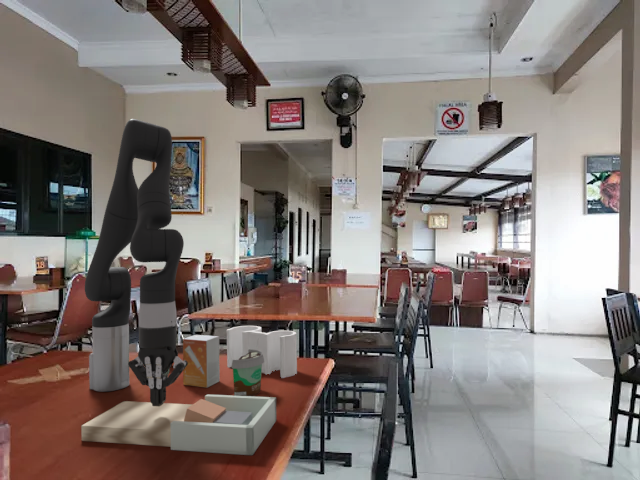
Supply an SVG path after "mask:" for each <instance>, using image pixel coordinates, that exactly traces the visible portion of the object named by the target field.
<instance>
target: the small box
mask: <svg viewBox="0 0 640 480" xmlns="http://www.w3.org/2000/svg"><path fill="white" fill-rule="evenodd" d="M182 360H183V361H184V360H186V361H187V362H188V365H187V366H186V367H185V369H184V370H183V371H182V374H183V375H182V376H183V380H182V382H183V383H182V384H183V385H184V386H192V387H200V388H204V389H205V388H209V387H212V386H213V385H215V384H217V383H219V382H220V377H221V376H220V366H221V365H220V336H218V335H217V336H216V335H208V334H207V335H206V334H204V335H202V334H201V335H200V334H195V335H190V336H188V337H184V338H183V339H182Z"/></svg>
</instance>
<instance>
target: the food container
mask: <svg viewBox="0 0 640 480" xmlns="http://www.w3.org/2000/svg"><path fill="white" fill-rule="evenodd" d="M262 363H264V357H263V354H262V352H261V351H258V350H250V349H248V354H246V355H244V356H241V357H240V358H239V360H233V363H232V367H231V369H232V375H233V377H232V378H233V380H232V381H233V393H234V395H233V396H255V397H257V395H259V394H260V393H261V384H262V373H261V371H262Z"/></svg>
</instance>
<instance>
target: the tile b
mask: <svg viewBox="0 0 640 480" xmlns="http://www.w3.org/2000/svg"><path fill="white" fill-rule="evenodd" d="M251 421H252V413H251V412H237V411H225V412H224V413H222V414H221V415H220V416H219V417H218V418H217V419H216V420H214V421H213V423H221V424H239V425H248V424H249V423H250V422H251Z"/></svg>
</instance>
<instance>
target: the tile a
mask: <svg viewBox="0 0 640 480" xmlns="http://www.w3.org/2000/svg"><path fill="white" fill-rule="evenodd" d="M225 411H226V408H224V407H222V406H219V405H216V404H214V403H211V402H209V401H206V400H205V399H202V398H200V399H198V400H197V401H196V402H195V403H192V405H191V406H190V407H189V408H187V411H186V415H185V418H184V421H186V422H203V423H213V421H214V420H216V419H217V418H218V417H219V416H220V415H221V414H222V413H224V412H225Z"/></svg>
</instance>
